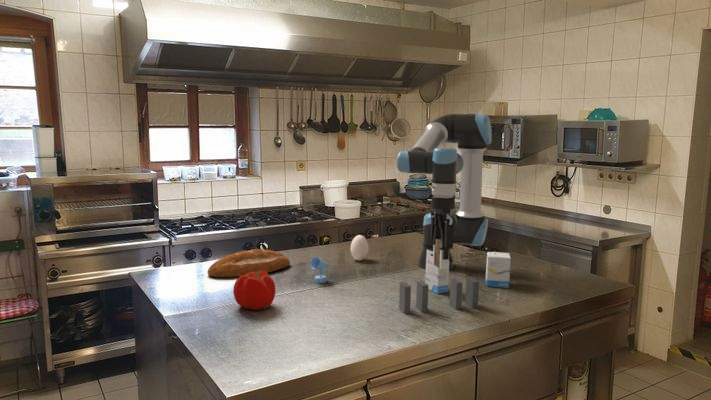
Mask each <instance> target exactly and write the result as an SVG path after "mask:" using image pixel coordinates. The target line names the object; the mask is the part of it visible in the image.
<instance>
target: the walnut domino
mask: <svg viewBox="0 0 711 400" xmlns="http://www.w3.org/2000/svg"><path fill="white" fill-rule="evenodd" d="M440 248H442V243H441V239H436V242H435V266H436V267H438V268H439V269H440Z"/></svg>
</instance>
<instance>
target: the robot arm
mask: <svg viewBox="0 0 711 400" xmlns="http://www.w3.org/2000/svg"><path fill="white" fill-rule="evenodd" d="M491 124H492V122H491V119H490V117H489V116H488V115H486V114H482V113H481V114H480V113H447V114H444V115H440V116H438V117H436V118H435V119H433V120H432V121H430V122H429V123H428V124H427V125H426V126H425V128H424V132H423V134H422V135H421V137H420V138H419V139H418V141H416V142H415V144H414V145H413V146H412V148H411V149H410V150H401V151H399V153H398V154H397V157H396V166H397V167H396V168H397V169H398V171H399V172H400V173H404V174H405V173H406V174H420V175H421V174H423V175H425V174H426V175H428V174H429V175H431V176H432V177H431V185H430V189H431V195H432V196H431V199H430V200H431V202H430V207H431V209H434V211H431V212H428V213H426V214H425V215H424V217H423V223H422V227H423V228H422V249H421V251H420V254H419V255H418V256H419V257H418V259H417V265H418V266H419V267H420V268H423V269H425V270H426V255H427V249H428V250H430V251H433V254H431V256H433V265H435V242H436V239H441V243H442V248H440V269H448V265H449V270H451V269H453V268H454V259H453V256H452V252H451V250H452V249H453V247H454V245H463V246H464V245H465V246H470V247H473V246H475V247H481V246H482V245H483V244H484V242H485V240H486V237H487V232H488V226H489V219H488V218H486V217H485V212H483V211H482V193H483V192H482V191H483V189H482V188H483V185H482V184H483V161H484V152H485V151H486V150H487V149H488V145H490V144H492V142H493V141H492V139H493V138H492V136H493V135H492V134H493V132H492V125H491ZM445 143H446V144H448V143H449V144H457V149H458V150H459V151H460V152H461V153H458V151H457V149H456V148H454V147H440V146H441V145H444V144H445ZM457 174H460V188H459V189H460V190H459V209H458V210H457V211H456V212H455V215H452V212H451V210H453V209H455V207H456V206H455V205H456V198H455V196H456V190H457V189H456V188H457V187H456V186H457V182H456V181H457V180H456V179H457Z"/></svg>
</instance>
